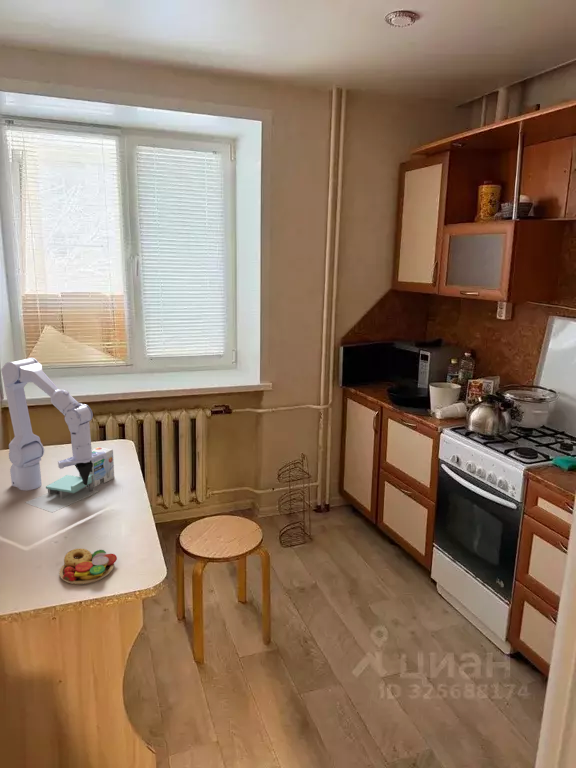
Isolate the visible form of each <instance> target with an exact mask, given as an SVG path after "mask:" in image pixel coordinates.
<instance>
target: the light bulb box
mask: <svg viewBox="0 0 576 768" xmlns="http://www.w3.org/2000/svg"><path fill="white" fill-rule="evenodd" d="M103 451H104V452H106V455H107V458H106V459H98V460H94V461H92V463H93V467H92V469H91V471H90V474H94V481H93V487H97V486H99V485H101V484H106V483H108V482H109V481H111V480H113V479H115V465H114V450H113V448H112V449H111V448H106V447H101V446H97V447H94V448H93V449H92V453H96V452H103ZM78 475H79V476H78V477H81V475H80V473H79V472H78Z"/></svg>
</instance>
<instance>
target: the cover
mask: <svg viewBox="0 0 576 768" xmlns="http://www.w3.org/2000/svg"><path fill="white" fill-rule="evenodd" d="M93 481H94V474H89V477H88V483H87V485H84V484H83V480H82V477H80V476H78V475H70V474H66V475H65V476H62V477H60V478H58V479H57V480H55V481H54V482H51V483H49V484H50V485H49V484H47V485H48V486H47V485H46V486H45V489H46V490H48V489H51V490H58V491H64V492H70V493H75V492H77V491H78V490H80V489H82V488H83V487H85V486H86V487H87V486H89V485H88V484H90V483H92V482H93Z"/></svg>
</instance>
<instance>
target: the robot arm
mask: <svg viewBox="0 0 576 768" xmlns="http://www.w3.org/2000/svg"><path fill="white" fill-rule="evenodd" d="M0 371H1V375H2V381H3V385H4V390H5V395H6V401H7V405H8V411H9V415H10V420H11V425H12V430H13V435H14V437H13V438H12V440H11V441H10V442H9V444H8V449H9V450H8V459H9V461H10V463H11V465H10V466H11V467H10V469H9V470H10V471H9V472H10V481H11V482H10V483H11V486H12V487H15V488H17V489H18V490H20V491H32V490H36V489H38V488H40V487H41V486H42V474H41V472H42V471H41V463H40V462H41V461H42V457H44V455H45V448H44V444H43V443H42V442H41V438H40V436H39V435H37V434H34V432H33V428H32V423H31V418H30V413H29V408H28V403H27V398H26V391H25V386H27V384H28V383H33V384H34V385H35V386H37V387H38V388H39V389H40V390H42V392H44V393H45V394H46V395H47V396H49V397H50V403H51V404H52V405H53V406H54V407H55V408H56V409H57V410H58V411H59V412H60V413H61V414H62V415H63V416H64V421H65V423H66V425H67V427H68V430H69V432H70V439H71V441H70V442H71V451H72V456H70V457H68V458H65V459H61V460H58V461H57V465H58V466H57V467H58V468H59V470H61V469H65V468H68V467H72V466H75V468H76V470H77V471H78V474H79V473H80V475H81V477H82V480H83V484H84V485H87V483H88V477H89V474H90V471H91V469H92V467H93V463H92V461H94V460H98V459H106V458H107V455H106V452H104V451H103V452H96V453H92V450H93V449H92V438H91V428H90V427H91V426H90V422H91V421H92V419H93V417H94V413H93V411H92V409H91V407H90V405H88V404H85V403H82V402H79V401H78V400H77V399H76V398H74V397H73V396H72V395H71V394H70V392H69V391H68V390H66V389H60V388H59V387H58V386H57V385H56V384H55V383H54V382H53V380H51V378H50V377H48V375H47V374H46V373H45V372H44V370H43V364H41V363H40V362H39V361H38V360H37V359H36V358H34V357H28V358H24V359H20V360H16V361H15V360H14V361H8V362H6V363H5V364H4V365H3V366H2V368H1V369H0ZM87 486H88V485H87Z"/></svg>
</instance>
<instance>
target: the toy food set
mask: <svg viewBox="0 0 576 768" xmlns="http://www.w3.org/2000/svg"><path fill="white" fill-rule="evenodd" d="M117 560H118V557H117V555H116V554H115V553H107V552H106V551H105V549H97V550H96V551H94V552H93V553H91V551H90V550H88V549H85V548H75V549H72V550H69V551H68V552H67V553H66V554H65V555H64V558H63V565H62V566H61V567H60V569H59V572H58V574H59V578H60V579H62V581H64V582H66V583H69V584H71V585H76V586H78V585H81V586H82V585H89V584H93V583H95V582H98V581H100V580H103V579H104V578H106V576H108V575H109V574H110V573H111V572H112V571H113V569H114V567H115V563H116V562H117Z"/></svg>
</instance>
